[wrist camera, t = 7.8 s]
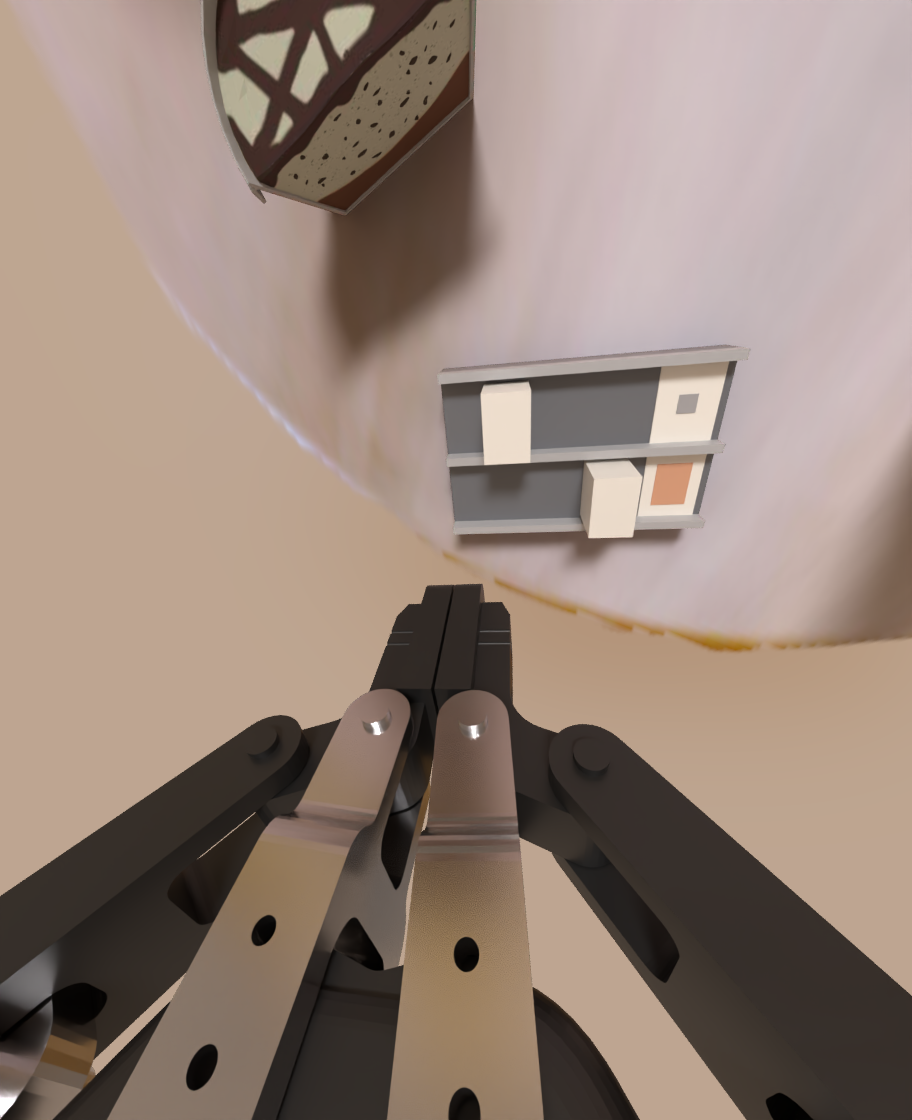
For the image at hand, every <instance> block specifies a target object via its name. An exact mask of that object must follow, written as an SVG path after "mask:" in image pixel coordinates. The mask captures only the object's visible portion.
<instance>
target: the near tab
mask: <svg viewBox="0 0 912 1120" xmlns="http://www.w3.org/2000/svg"><path fill="white" fill-rule="evenodd" d="M481 411H482V430H483V449H484V465H497V464H517V463H530V454H531V388H530V385H529V381H517V382H504V383H491V384H484V386H483V389H482V392H481Z"/></svg>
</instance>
